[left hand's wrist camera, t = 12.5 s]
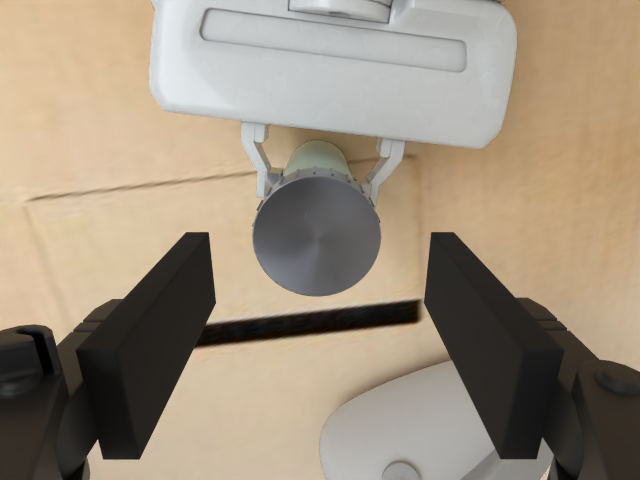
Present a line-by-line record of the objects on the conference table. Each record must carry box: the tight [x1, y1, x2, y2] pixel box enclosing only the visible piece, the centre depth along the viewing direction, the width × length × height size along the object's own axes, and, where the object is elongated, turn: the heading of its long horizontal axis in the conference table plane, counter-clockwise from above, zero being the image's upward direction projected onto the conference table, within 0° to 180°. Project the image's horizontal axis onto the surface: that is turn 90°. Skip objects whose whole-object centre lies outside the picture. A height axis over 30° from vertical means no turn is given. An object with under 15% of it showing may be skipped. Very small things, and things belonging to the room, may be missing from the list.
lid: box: [252, 166, 381, 296], centre depth 18 cm, size 6×6×2 cm
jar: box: [283, 140, 353, 179], centre depth 25 cm, size 5×5×15 cm
